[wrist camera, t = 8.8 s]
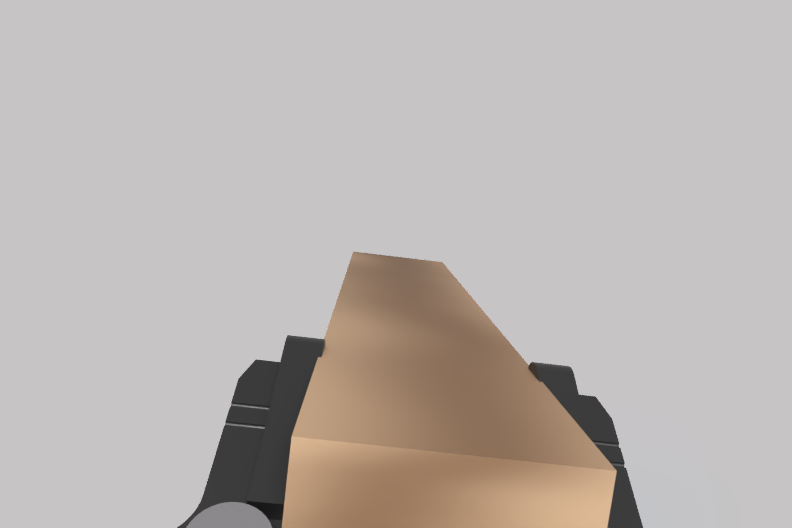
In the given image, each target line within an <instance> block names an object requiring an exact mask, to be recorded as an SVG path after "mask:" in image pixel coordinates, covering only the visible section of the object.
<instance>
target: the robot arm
mask: <svg viewBox="0 0 792 528" xmlns="http://www.w3.org/2000/svg"><path fill="white" fill-rule="evenodd" d="M324 348H325V339H316V338H307V337H297V336H289V335H288V336H287V338H286V342H285V346H284V350H283V354H282V358H281V362H272V361H263V360H255V361H254V362H253V364H252V365H251V366H250V367H249V368H248V369H247V370H246V371H245V372H244V373H243V375H242V376H241V377H240V378H239V379H238V383H237V386H236V390H235V393H234V396H233V399H232V404H231V407H230V409H229V412H228V416H227V419H226V424H225V426H224V429H223V432H222V435H221V439H220V442H219V445H218V449H217V452H216V455H215V458H214V462H213V465H212V468H211V471H210V475H209V478H208V481H207V485H206V488H205V491H204V495H203V497H202V500H201V502H200V504H199V506H198V508H197V509H196V511H195V512H194V513H193V514H192V515H191V517H189V518H188V519H187V520H186V521H185V522H184V523H183V524H182V525H180V526H179V527H178V528H282V520H283V511H284V502H285V492H286V483H287V474H288V464H289V455H290V446H291V437H292V434H293V431H294V428H295V425H296V422H297V419H298V416H299V413H300V410H301V407H302V404H303V401H304V398H305V395H306V392H307V389H308V386H309V383H310V380H311V377H312V374H313V371H314V368H315V365H316V362H317V359H318V357H322V354H323V351H324ZM528 369H529V370H530V371H531V372H532V374H533V375H534V376H535V377H536V378H537V380H538V381H539V382H543V383H544V384H545V386H546V387H547V388H548V389H549V390H550V392H551V393H552V394H553V395H554V396H555V398H556V399H557V400H558V401H559V402H560V404H561V405H562V406H563V407H564V408H565V410H566V411H567V412H568V413H569V414H570V416H571V417H572V418H573V419H574V420H575V422H576V423H577V424H578V425H579V426H580V428H581V429H582V430H583V431H584V432H585V433H586V435H587V436H588V437H589V438H590V439H591V441H592V442H593V443H594V444H595V445H596V447H597V448H598V449H599V450H600V451H601V453H602V454H603V455H604V456H605V457H606V459H607V460H608V461H609V462H610V463H611V465H612V466H613V467H614V468H615V469H616V471H617V473H616V479H615V485H614V491H613V497H612V503H611V509H610V514H609V520H608V526H607V528H643V526H642V523H641V519H640V516H639V512H638V509H637V505H636V502H635V498H634V495H633V491H632V487H631V484H630V481H629V477H628V473H627V470H626V468H624V459H623V456H622V452H621V449H620V448H619V446H618V445H619V442H618V438H617V435H616V431H615V428H614V424H613V421H612V418H611V417H610V416H609V414H608V413H607V412H606V410H605V409H604V408H603V406H602V405H601V403H600V402H599V401H598V399H597V398H596V397H593V396H585V395H579V394H578V390H577V385H576V381H575V378H574V374H573V371H572V369H571V367H568V366H561V365H552V364H543V363H534V362H532V363H530V365H529V367H528Z"/></svg>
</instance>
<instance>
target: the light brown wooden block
mask: <svg viewBox="0 0 792 528" xmlns="http://www.w3.org/2000/svg"><path fill="white" fill-rule="evenodd" d="M324 339H325V348H324V351H323V354H322V357H318V359H317V362H316V365H315V368H314V371H313V374H312V377H311V380H310V383H309V386H308V389H307V392H306V395H305V398H304V401H303V404H302V407H301V410H300V413H299V416H298V419H297V422H296V425H295V428H294V431H293V434H292V437H291V446H290V455H289V464H288V474H287V483H286V492H285V502H284V511H283V520H282V528H607V526H608V520H609V514H610V509H611V503H612V497H613V491H614V485H615V479H616V473H617V471H616V469H615V468H614V467H613V466H612V465H611V463H610V462H609V461H608V460H607V459H606V457H605V456H604V455H603V454H602V453H601V451H600V450H599V449H598V448H597V447H596V445H595V444H594V443H593V442H592V441H591V439H590V438H589V437H588V436H587V435H586V433H585V432H584V431H583V430H582V429H581V428H580V426H579V425H578V424H577V423H576V422H575V420H574V419H573V418H572V417H571V416H570V414H569V413H568V412H567V411H566V410H565V408H564V407H563V406H562V405H561V404H560V402H559V401H558V400H557V399H556V398H555V396H554V395H553V394H552V393H551V392H550V390H549V389H548V388H547V387H546V386H545V384H544V383H543V382H539V381H538V380H537V378H536V377H535V376H534V375H533V374H532V372H531V371H530V370H529V369H528V367H529V365H528V364H527V363H526V362H525V361H524V359H523V358H522V357H521V356H520V355H519V353H518V352H517V351H516V350H515V349H514V347H513V346H512V345H511V344H510V343H509V341H508V340H507V339H506V338H505V337H504V336H503V334H502V333H501V332H500V331H499V330H498V328H497V327H496V326H495V325H494V324H493V323H492V321H491V320H490V319H489V318H488V316H487V315H486V314H485V313H484V312H483V310H482V309H481V308H480V307H479V306H478V304H477V303H476V302H475V301H474V300H473V298H472V297H471V296H470V295H469V294H468V292H467V291H466V290H465V289H464V288H463V287H462V285H461V284H460V283H459V282H458V280H457V279H456V278H455V277H454V276H453V274H452V273H451V272H450V271H449V270H448V269H447V267H446V266H445V265H444V264H443V263H442V262H435V261H426V260H418V259H410V258H402V257H393V256H384V255H376V254H368V253H359V252H353V254H352V257H351V260H350V264H349V266H348V269H347V273H346V276H345V278H344V281H343V284H342V287H341V290H340V293H339V296H338V299H337V302H336V305H335V308H334V311H333V314H332V317H331V320H330V323H329V326H328V329H327V332H326V335H325V338H324Z"/></svg>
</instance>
